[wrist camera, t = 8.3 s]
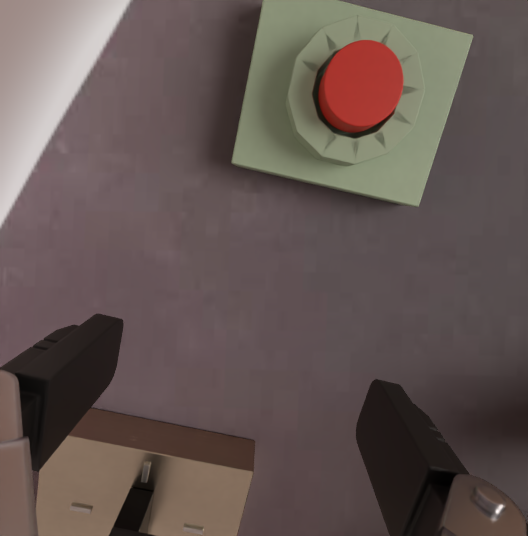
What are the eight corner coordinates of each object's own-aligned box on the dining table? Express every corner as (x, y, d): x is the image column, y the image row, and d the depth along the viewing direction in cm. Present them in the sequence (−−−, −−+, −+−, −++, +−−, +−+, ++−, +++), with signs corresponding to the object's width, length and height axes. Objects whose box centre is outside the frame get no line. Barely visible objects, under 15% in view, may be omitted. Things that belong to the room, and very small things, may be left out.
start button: (310, 123, 17) (314, 116, 16) (328, 46, 17) (335, 29, 15) (378, 140, 18) (390, 134, 16) (399, 64, 17) (414, 50, 15)
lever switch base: (55, 521, 28) (28, 563, 25) (68, 402, 25) (41, 432, 22) (226, 553, 28) (221, 597, 25) (255, 440, 26) (253, 474, 23)
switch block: (234, 165, 21) (227, 160, 18) (266, 3, 19) (266, -43, 16) (404, 205, 22) (433, 209, 18) (452, 51, 20) (497, 17, 16)
